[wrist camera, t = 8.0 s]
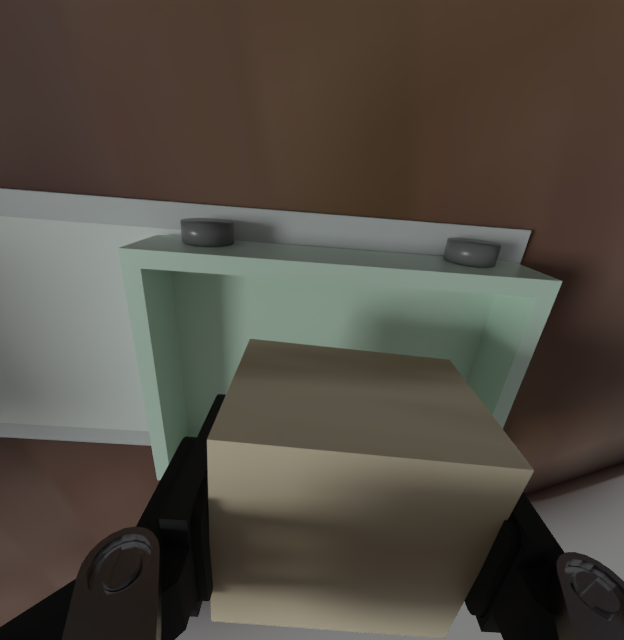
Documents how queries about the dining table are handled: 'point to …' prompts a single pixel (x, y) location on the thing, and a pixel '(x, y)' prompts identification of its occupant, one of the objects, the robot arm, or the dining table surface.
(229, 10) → the dining table surface
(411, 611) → the beige square block
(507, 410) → the cart
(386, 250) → the track
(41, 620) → the robot arm
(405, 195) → the dining table surface
